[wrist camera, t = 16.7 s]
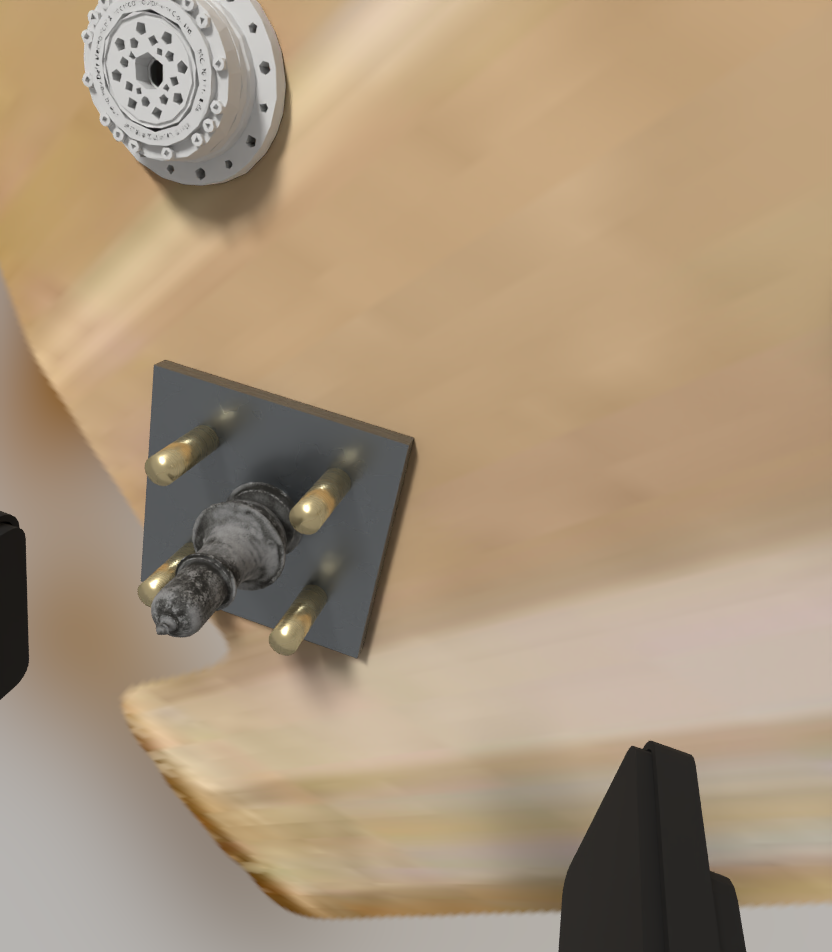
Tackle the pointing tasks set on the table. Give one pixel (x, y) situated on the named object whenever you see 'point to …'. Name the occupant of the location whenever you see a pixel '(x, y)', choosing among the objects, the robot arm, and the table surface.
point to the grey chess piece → (227, 557)
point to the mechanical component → (186, 83)
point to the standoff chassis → (298, 475)
